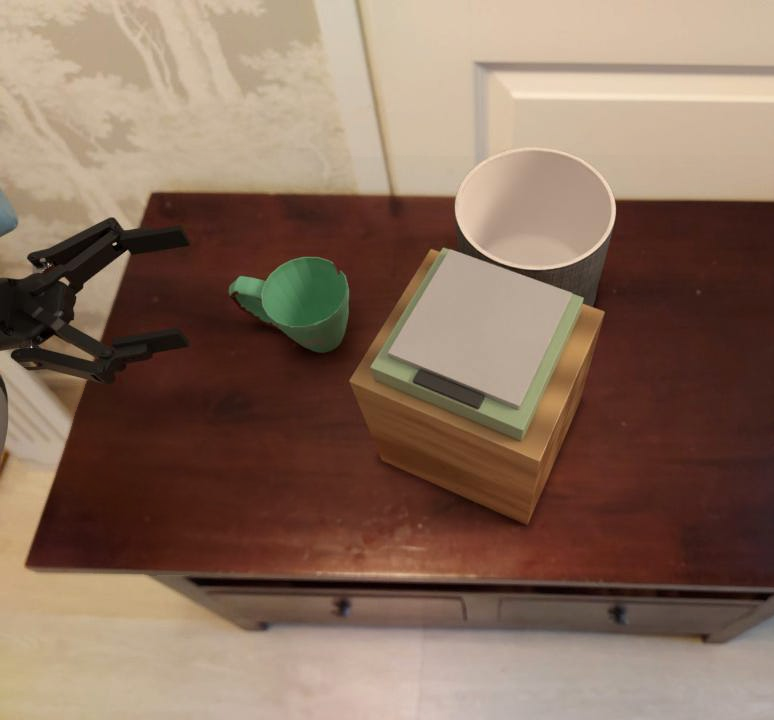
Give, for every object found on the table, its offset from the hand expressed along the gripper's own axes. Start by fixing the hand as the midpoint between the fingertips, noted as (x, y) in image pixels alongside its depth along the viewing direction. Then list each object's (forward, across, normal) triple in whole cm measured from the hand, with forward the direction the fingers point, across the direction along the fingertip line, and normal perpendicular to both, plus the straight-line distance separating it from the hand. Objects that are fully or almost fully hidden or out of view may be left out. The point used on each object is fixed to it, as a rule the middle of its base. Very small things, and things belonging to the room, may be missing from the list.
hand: (185, 284), depth 70 cm
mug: (+10, 0, -14) cm, 17 cm away
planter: (+39, -1, -14) cm, 41 cm away
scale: (+29, +18, +7) cm, 35 cm away
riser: (+29, +18, -13) cm, 37 cm away
